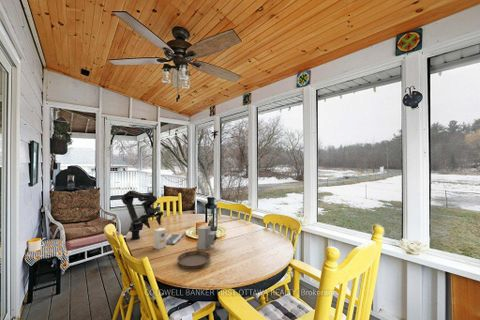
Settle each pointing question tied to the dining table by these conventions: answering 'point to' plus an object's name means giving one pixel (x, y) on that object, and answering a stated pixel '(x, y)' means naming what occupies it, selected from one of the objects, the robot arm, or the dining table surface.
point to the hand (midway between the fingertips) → (155, 226)
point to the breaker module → (159, 238)
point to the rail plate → (173, 238)
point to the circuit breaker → (205, 237)
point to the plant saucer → (193, 259)
